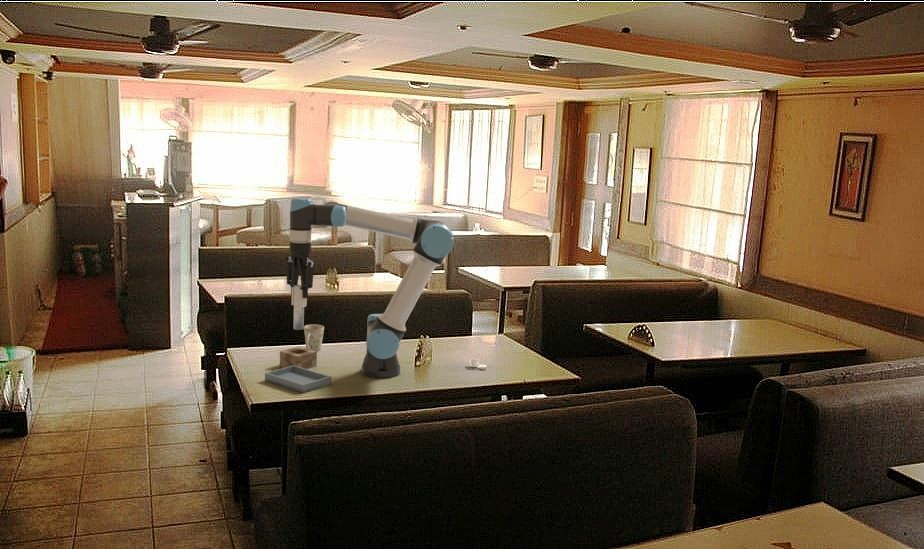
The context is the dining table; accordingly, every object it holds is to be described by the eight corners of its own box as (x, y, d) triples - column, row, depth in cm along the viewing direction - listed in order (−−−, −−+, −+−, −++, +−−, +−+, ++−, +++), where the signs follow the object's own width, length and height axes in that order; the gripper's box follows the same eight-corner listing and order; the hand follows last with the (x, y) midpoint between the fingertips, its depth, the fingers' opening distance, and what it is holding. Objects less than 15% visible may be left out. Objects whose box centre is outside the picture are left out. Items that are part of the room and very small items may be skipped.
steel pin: (305, 328, 277) (306, 285, 274) (298, 330, 274) (298, 286, 271) (298, 326, 279) (299, 284, 276) (291, 328, 276) (292, 285, 273)
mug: (325, 347, 326) (326, 325, 325) (317, 355, 314) (318, 332, 312) (306, 346, 327) (307, 323, 325) (297, 354, 315) (298, 330, 313)
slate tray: (331, 384, 279) (331, 376, 278) (303, 393, 267) (303, 385, 267) (293, 372, 290) (293, 365, 289) (264, 380, 279) (264, 373, 278)
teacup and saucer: (489, 370, 308) (489, 360, 307) (472, 372, 304) (473, 362, 303) (477, 364, 315) (478, 355, 315) (461, 366, 311) (461, 356, 311)
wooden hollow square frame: (316, 366, 300) (316, 351, 299) (297, 371, 292) (297, 356, 291) (298, 361, 305) (299, 346, 304) (279, 366, 297) (279, 351, 296)
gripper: (324, 243, 269) (322, 308, 273) (292, 238, 279) (291, 300, 283) (308, 245, 263) (306, 311, 267) (276, 239, 273) (275, 303, 277)
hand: (299, 305), depth 275 cm, fingers closed on steel pin, 3 cm apart
